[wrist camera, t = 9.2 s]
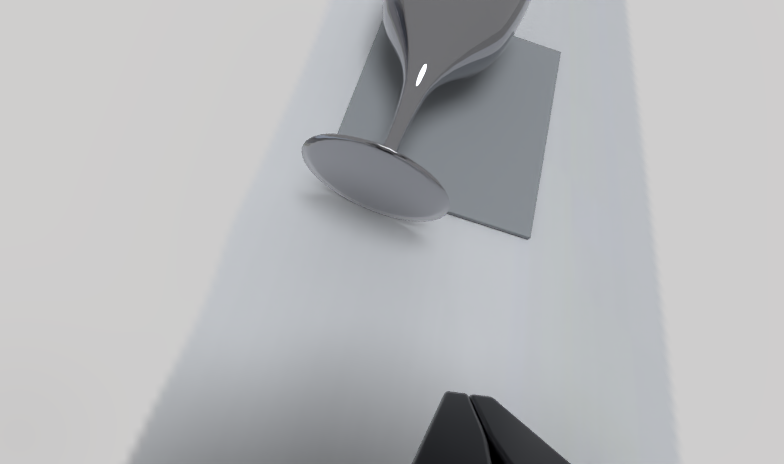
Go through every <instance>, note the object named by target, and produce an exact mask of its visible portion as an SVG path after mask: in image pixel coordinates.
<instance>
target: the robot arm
mask: <svg viewBox="0 0 784 464" xmlns="http://www.w3.org/2000/svg"><path fill="white" fill-rule="evenodd" d="M412 464H570V463H569V462H568V461H567V460H565V459H564V458H563V457H562V456H561V455H560V454H558V453H557V452H556V451H555V450H554V449H552V448H551V447H550V446H549V445H548V444H547V443H545V442H544V441H543V440H542V439H541V438H540V437H538V436H537V435H536V434H535V433H534V432H532V431H531V430H530V429H529V428H528V427H527V426H525V425H524V424H523V423H522V422H521V421H520V420H518V419H517V418H516V417H515V416H514V415H512V414H511V413H510V412H509V411H508V410H507V409H505V408H504V407H503V406H502V405H501V404H499V403H498V402H497V401H496V400H495V399H493V398H492V397H488V396H481V395H470V396H468V395H467V394H465V393H457V392H450V391H447V392H445V394H444V396H443V398H442V400H441V402H440V404H439V406H438V408H437V411H436V413H435V415H434V417H433V419H432V421H431V423H430V426H429V428H428V430H427V432H426V434H425V436H424V439H423V441H422V443H421V445H420V447H419V449H418V451H417V454H416V456H415V458H414V460H413V462H412Z"/></svg>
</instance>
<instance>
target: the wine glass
mask: <svg viewBox="0 0 784 464" xmlns="http://www.w3.org/2000/svg"><path fill="white" fill-rule="evenodd" d="M530 2H531V0H383V22H384V26H385V30H386V34H387V37H388V40H389V42H390V45H391V47H392V49H393V51H394V53H395V55H396V57H397V59H398V61H399V63H400V65H401V69H402V75H403V86H402V91H401V95H400V99H399V102H398V106H397V109H396V112H395V116H394V118H393V121H392V124H391V127H390V129H389V132H388V134H387V136H386V138H385V141H384V143H383V145H381V144H378V143H376V142H373V141H369V140H366V139H363V138H359V137H355V136H350V135H344V134H321V135H317V136H313V137H312V138H310V139H308V140H307V141H306V142H305V143H304V145H303V146H302V156H303V159H304V161H305V163H306V165H307V166H308V168H309V169H310V171H311V172H312V173H313V174H314V175H315V176H316V177H317V178H318V179H319V180H320V181H321V182H323V183H324V184H325V185H326V186H328V187H329V188H330V189H332V190H333V191H335V192H336V193H338V194H339V195H341V196H342V197H344V198H346V199H348V200H350V201H351V202H353V203H355V204H357V205H360V206H362V207H364V208H366V209H369V210H371V211H374V212H377V213H380V214H382V215H386V216H389V217H393V218H397V219H402V220H408V221H424V222H425V221H433V220H437V219H440V218H442V217H443V216H445V215H446V214H447V212H448V211H449V207H450V203H449V197H448V195H447V193H446V191H445V189H444V188H443V186H442V185H441V184H440V182H439V181H438V180H437V179H436V178H435V177H434V176H433V175H432V174H431V173H429V172H428V171H427V170H425V169H424V168H423V167H422V166H420V165H419V164H417V163H416V162H414V161H413V160H411V159H409V158H408V157H406V156H404V155H402V154H400V153H399V152H398V150H399V147H400V145H401V142H402V140H403V138H404V135H405V133H406V131H407V129H408V127H409V125H410V123H411V121H412V120H413V118H414V116H415V115H416V113H417V111H418V109H419V108H420V106H421V105H422V103H423V101H424V100H425V99H426V97H427V96H428V95H429V94H430V93H431V92H432V91H433V90H435V89H436V88H438V87H440V86H442V85H444V84H448V83H451V82H455V81H459V80H463V79H466V78H469V77H471V76H473V75H475V74H477V73H479V72H481V71H483V70H484V69H485V68H487V67H488V66H489V65H490V64H491V63H492V62H493V61H494V60H495V59H496V58H497V57H498V56H499V55H500V54H501V52H502V51H503V50H504V49H505V47H506V46H507V44H508V43H509V42H510V40H511V39H512V37H513V35H514V34H515V32H516V30H517V29H518V27H519V25H520V23H521V22H522V20H523V18H524V16H525V14H526V12H527V9H528V7H529V5H530Z"/></svg>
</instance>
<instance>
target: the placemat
mask: <svg viewBox="0 0 784 464" xmlns="http://www.w3.org/2000/svg"><path fill="white" fill-rule="evenodd" d="M560 54H561V52H559V51H556V50H553V49H550V48H547V47H544V46H541V45H538V44H535V43H533V42H530V41H527V40H524V39H521V38H518V37H515V36H513V37H512V39H511V40H510V42H509V43H508V44H507V46H506V47H505V49H504V50H503V51H502V52H501V54H500V55H499V56H498V57H497V58H496V59H495V60H494V61H493V62H492V63H491V64H490V65H489V66H488V67H487V68H485V69H484V70H483V71H481V72H479V73H477V74H475V75H473V76H471V77H469V78H466V79H463V80H459V81H455V82H451V83H448V84H444V85H442V86H440V87H438V88H436V89H435V90H433V91H432V92H431V93H430V94H429V95H428V96H427V97H426V99H425V100H424V101H423V103H422V105H421V106H420V108H419V109H418V111H417V113H416V115H415V116H414V118H413V120H412V121H411V123H410V125H409V127H408V129H407V131H406V133H405V135H404V138H403V140H402V142H401V145H400V147H399V150H398V152H399V153H400V154H402V155H404V156H406V157H408V158H409V159H411V160H413V161H414V162H416V163H417V164H419V165H420V166H422V167H423V168H424V169H425V170H427V171H428V172H429V173H431V174H432V175H433V176H434V177H435V178H436V179H437V180H438V181H439V182H440V184H441V185H442V186H443V188H444V189H445V191H446V193H447V195H448V197H449V203H450V207H449V211H448V212H447V213H448V214H451V215H454V216H457V217H460V218H463V219H466V220H469V221H473V222H476V223H479V224H482V225H485V226H488V227H491V228H494V229H497V230H500V231H504V232H507V233H510V234H513V235H516V236H519V237H522V238H525V239H529V238H530V237H531V231H532V225H533V219H534V212H535V206H536V200H537V194H538V188H539V182H540V176H541V170H542V164H543V158H544V151H545V145H546V139H547V133H548V127H549V121H550V115H551V109H552V103H553V96H554V90H555V84H556V78H557V72H558V66H559V60H560ZM402 86H403V75H402V69H401V65H400V63H399V61H398V59H397V57H396V55H395V53H394V51H393V49H392V47H391V45H390V42H389V40H388V37H387V34H386V30H385V26H384V22H383V20H382V23H381V25H380V28H379V30H378V33H377V35H376V38H375V40H374V43H373V45H372V48H371V50H370V53H369V55H368V58H367V61H366V63H365V66H364V68H363V71H362V73H361V76H360V78H359V81H358V83H357V86H356V88H355V91H354V93H353V96H352V98H351V101H350V103H349V106H348V108H347V111H346V114H345V116H344V119H343V121H342V124H341V126H340V129H339V131H338V134H344V135H350V136H355V137H359V138H363V139H366V140H369V141H373V142H376V143H378V144H381V145H383V143H384V141H385V138H386V136H387V134H388V132H389V129H390V127H391V124H392V121H393V118H394V116H395V112H396V109H397V106H398V102H399V99H400V95H401V91H402Z"/></svg>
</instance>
